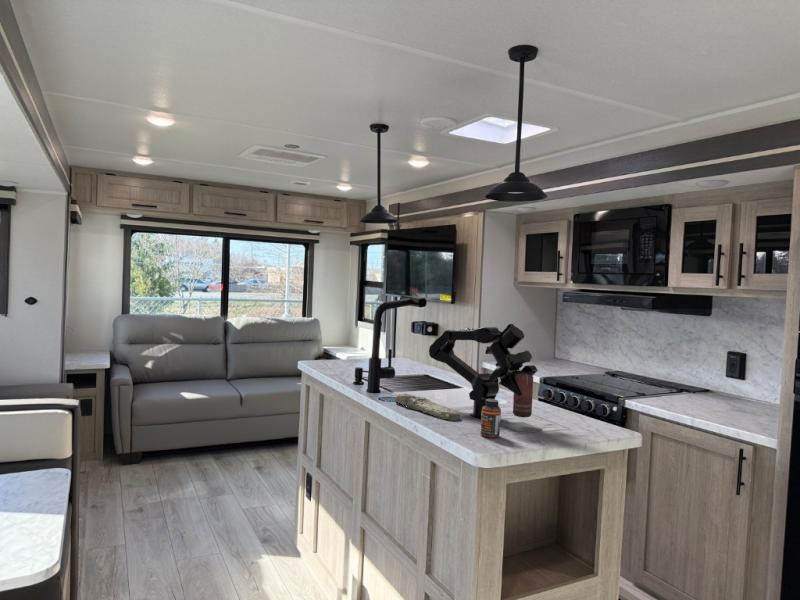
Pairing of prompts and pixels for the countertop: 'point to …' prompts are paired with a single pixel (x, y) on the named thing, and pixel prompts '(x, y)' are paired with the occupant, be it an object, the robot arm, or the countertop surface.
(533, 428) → the mat
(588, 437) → the countertop surface
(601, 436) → the countertop surface
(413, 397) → the elongated rock
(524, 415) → the can
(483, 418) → the supplement bottle
